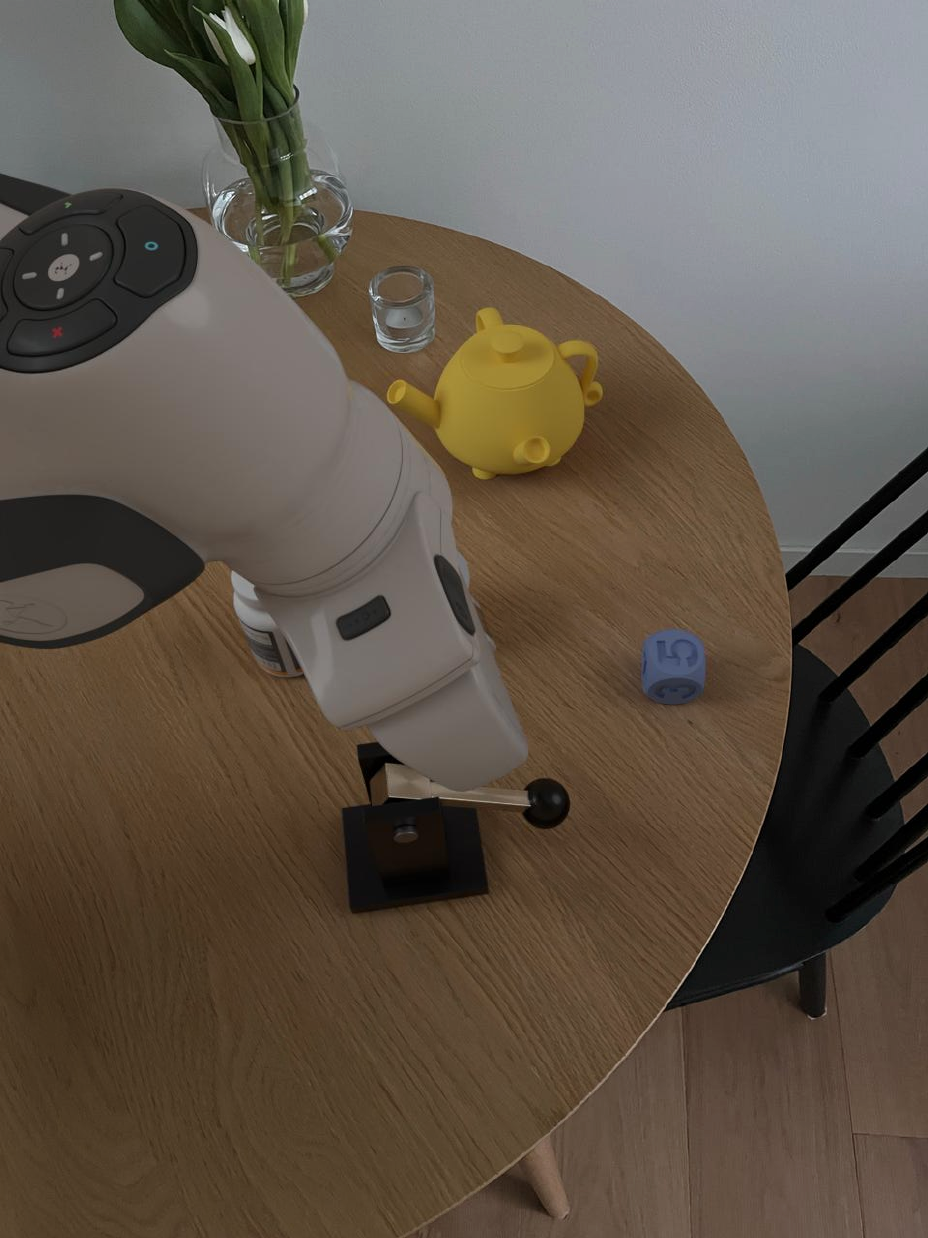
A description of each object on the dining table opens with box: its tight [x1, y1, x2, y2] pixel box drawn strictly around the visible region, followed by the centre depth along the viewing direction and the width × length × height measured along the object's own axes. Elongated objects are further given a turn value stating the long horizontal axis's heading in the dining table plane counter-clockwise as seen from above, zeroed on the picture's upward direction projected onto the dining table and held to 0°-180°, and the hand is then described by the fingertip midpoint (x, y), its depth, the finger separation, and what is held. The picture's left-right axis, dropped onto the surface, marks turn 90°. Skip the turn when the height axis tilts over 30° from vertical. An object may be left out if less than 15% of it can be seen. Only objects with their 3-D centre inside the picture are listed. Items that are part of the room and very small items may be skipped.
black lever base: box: [341, 741, 490, 915], centre depth 66 cm, size 9×7×12 cm
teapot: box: [386, 306, 604, 481], centre depth 86 cm, size 14×14×11 cm
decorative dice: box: [641, 628, 707, 705], centre depth 76 cm, size 4×4×4 cm
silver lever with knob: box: [370, 763, 571, 830], centre depth 65 cm, size 13×3×3 cm, turn 98°
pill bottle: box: [230, 569, 303, 678], centre depth 76 cm, size 6×6×10 cm
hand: (475, 635), depth 55 cm, fingers closed
